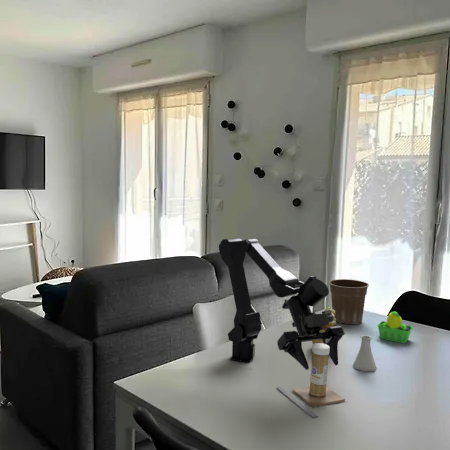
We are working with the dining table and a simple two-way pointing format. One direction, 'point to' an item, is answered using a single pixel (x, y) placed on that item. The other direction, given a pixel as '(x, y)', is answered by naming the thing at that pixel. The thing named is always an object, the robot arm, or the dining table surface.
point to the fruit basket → (394, 329)
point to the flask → (365, 356)
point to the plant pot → (348, 300)
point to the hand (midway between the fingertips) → (322, 366)
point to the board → (318, 401)
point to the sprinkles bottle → (319, 369)
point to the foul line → (297, 402)
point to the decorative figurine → (325, 327)
